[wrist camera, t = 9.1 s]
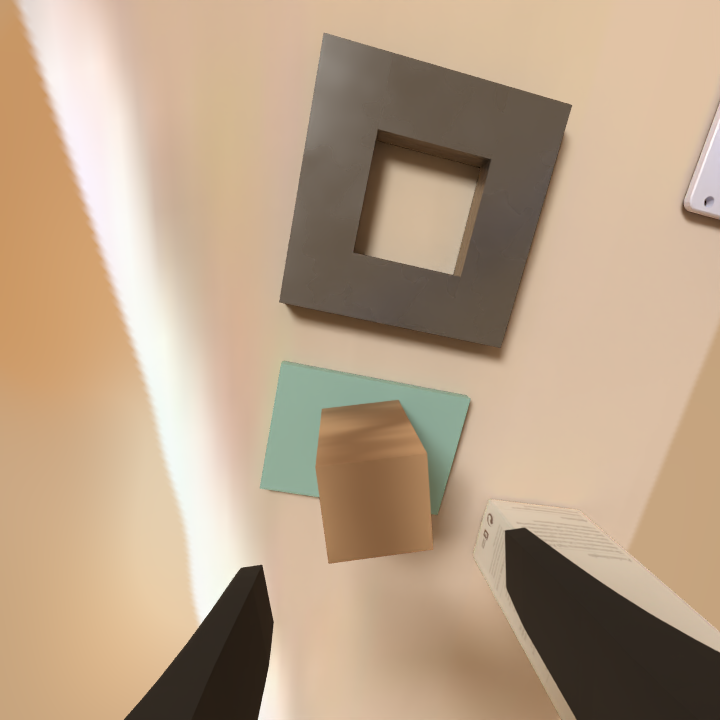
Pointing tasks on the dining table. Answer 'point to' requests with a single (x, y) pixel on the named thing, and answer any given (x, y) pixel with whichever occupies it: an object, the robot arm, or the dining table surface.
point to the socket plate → (435, 137)
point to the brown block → (372, 482)
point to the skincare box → (590, 553)
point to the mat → (335, 389)
